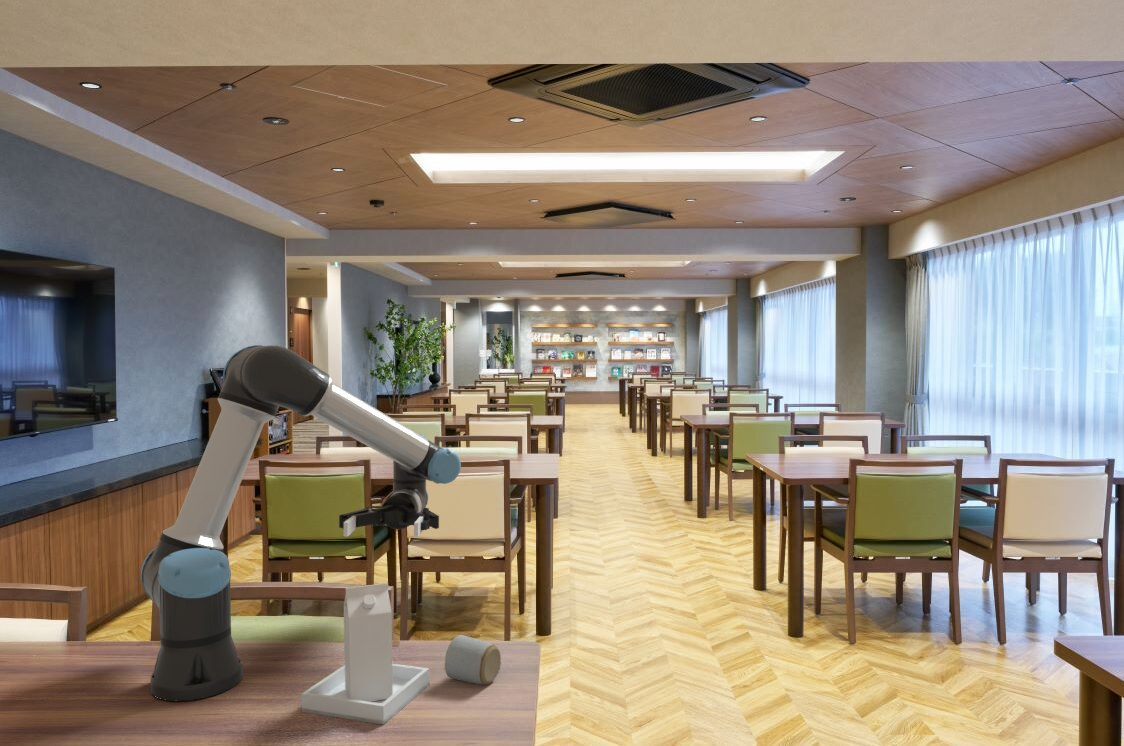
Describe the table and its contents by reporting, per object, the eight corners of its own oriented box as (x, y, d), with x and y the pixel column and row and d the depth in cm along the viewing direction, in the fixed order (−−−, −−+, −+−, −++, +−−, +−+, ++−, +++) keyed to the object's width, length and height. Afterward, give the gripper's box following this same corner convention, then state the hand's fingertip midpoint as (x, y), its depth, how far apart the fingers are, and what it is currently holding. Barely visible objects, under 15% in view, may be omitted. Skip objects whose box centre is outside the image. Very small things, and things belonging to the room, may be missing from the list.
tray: (301, 711, 130) (301, 693, 130) (354, 674, 145) (354, 658, 145) (383, 724, 125) (383, 706, 125) (429, 684, 140) (429, 668, 140)
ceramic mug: (483, 692, 137) (482, 649, 137) (443, 684, 140) (443, 642, 140) (511, 671, 146) (511, 630, 146) (474, 664, 150) (474, 624, 150)
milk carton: (345, 689, 137) (343, 582, 137) (385, 682, 140) (384, 577, 139) (350, 706, 131) (348, 594, 130) (392, 698, 133) (391, 588, 133)
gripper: (458, 526, 172) (445, 549, 151) (344, 525, 172) (316, 548, 151) (458, 492, 172) (445, 511, 151) (345, 491, 172) (316, 510, 151)
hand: (380, 529), depth 151 cm, fingers open, 13 cm apart
